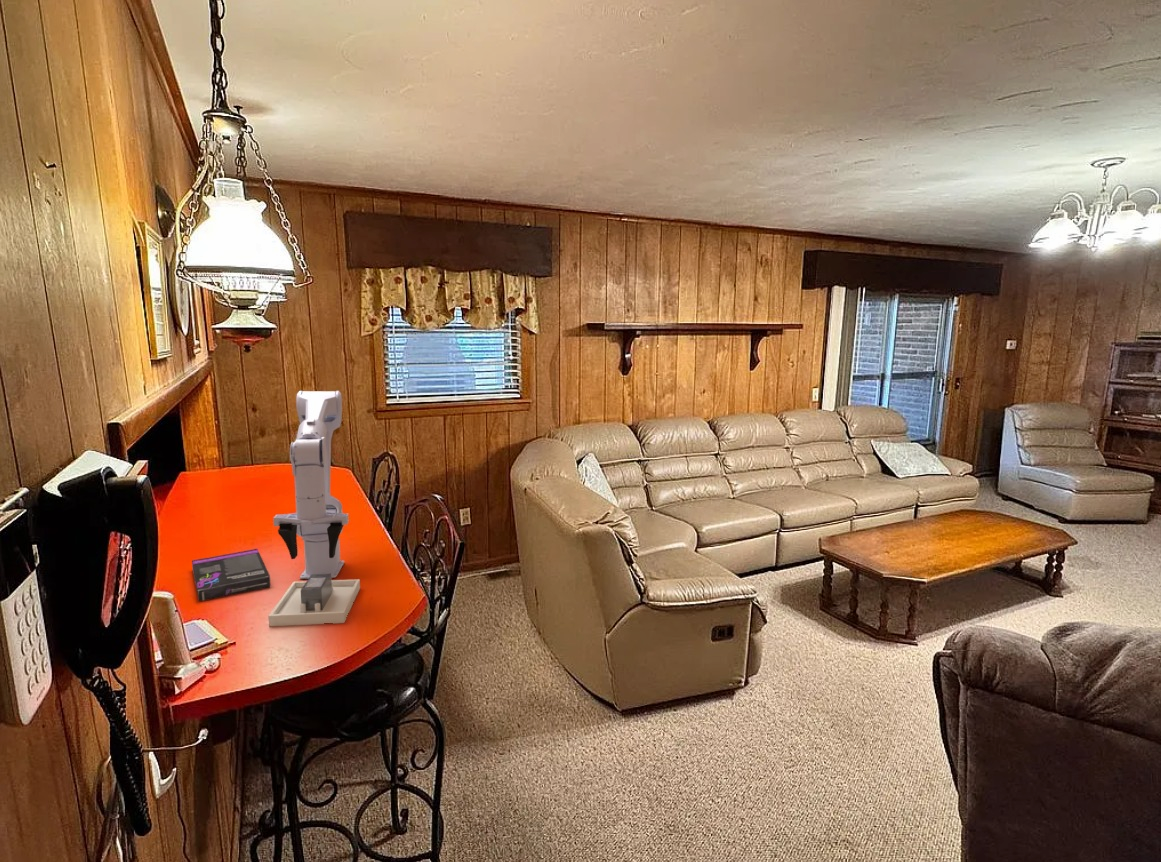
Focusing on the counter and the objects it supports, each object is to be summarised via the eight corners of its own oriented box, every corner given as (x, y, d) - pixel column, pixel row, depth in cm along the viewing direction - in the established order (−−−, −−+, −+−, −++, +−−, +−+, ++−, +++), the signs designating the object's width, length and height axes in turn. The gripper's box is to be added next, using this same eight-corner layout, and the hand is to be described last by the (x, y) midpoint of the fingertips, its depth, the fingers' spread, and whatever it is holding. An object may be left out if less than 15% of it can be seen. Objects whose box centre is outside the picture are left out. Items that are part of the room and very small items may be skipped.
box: (192, 573, 143) (197, 604, 127) (191, 559, 142) (196, 588, 127) (259, 561, 151) (271, 588, 135) (257, 548, 150) (269, 574, 134)
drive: (312, 593, 130) (311, 573, 130) (331, 593, 131) (331, 573, 130) (301, 611, 123) (300, 589, 122) (322, 610, 123) (321, 589, 122)
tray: (293, 590, 134) (293, 578, 133) (359, 588, 136) (359, 576, 135) (269, 626, 118) (268, 612, 118) (344, 622, 120) (343, 608, 120)
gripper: (266, 501, 122) (270, 565, 124) (342, 500, 124) (344, 562, 126) (278, 491, 128) (281, 552, 131) (349, 490, 131) (351, 550, 133)
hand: (313, 556), depth 129 cm, fingers open, 7 cm apart
